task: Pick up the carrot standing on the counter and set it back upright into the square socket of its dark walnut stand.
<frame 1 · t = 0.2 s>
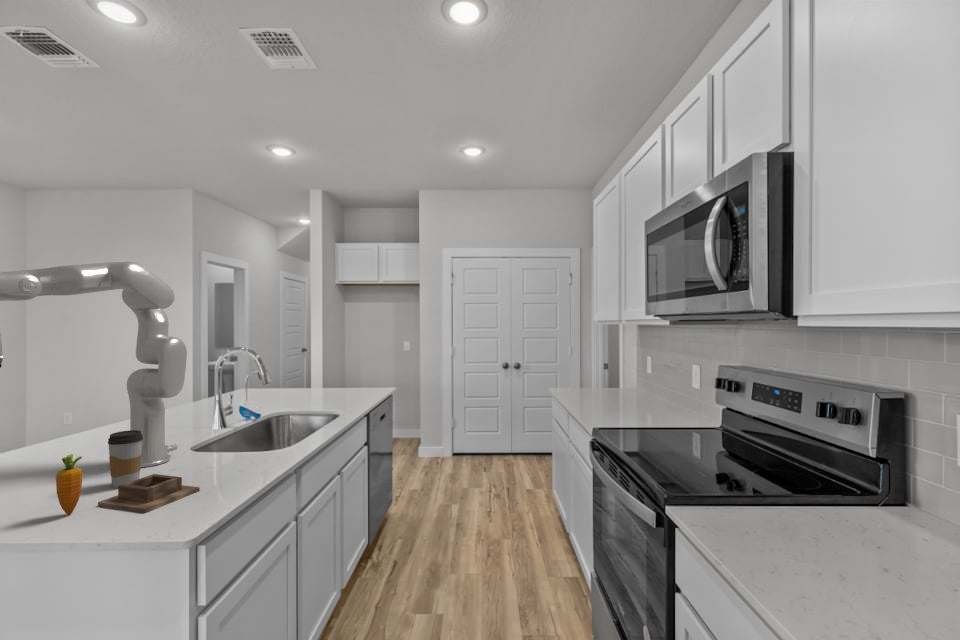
walnut stand: (150, 498, 128), on the worktop
carrot: (69, 515, 117), on the worktop
coffee cup: (125, 485, 138), on the worktop
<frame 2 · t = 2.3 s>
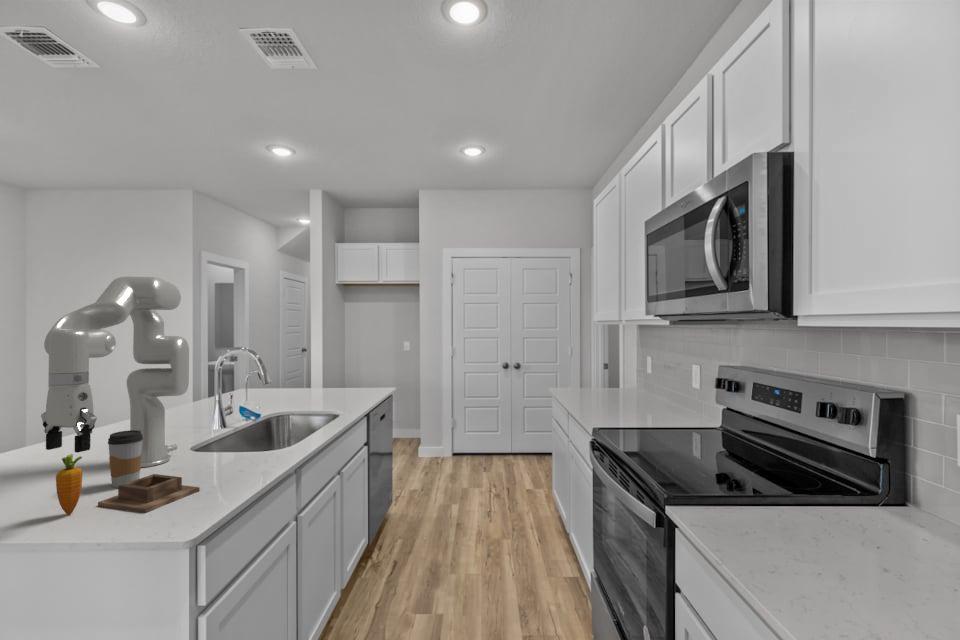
hand: (68, 449, 116), 16 cm above the worktop, tool pointing down, fingers open, 9 cm apart
nothing on the worktop moved.
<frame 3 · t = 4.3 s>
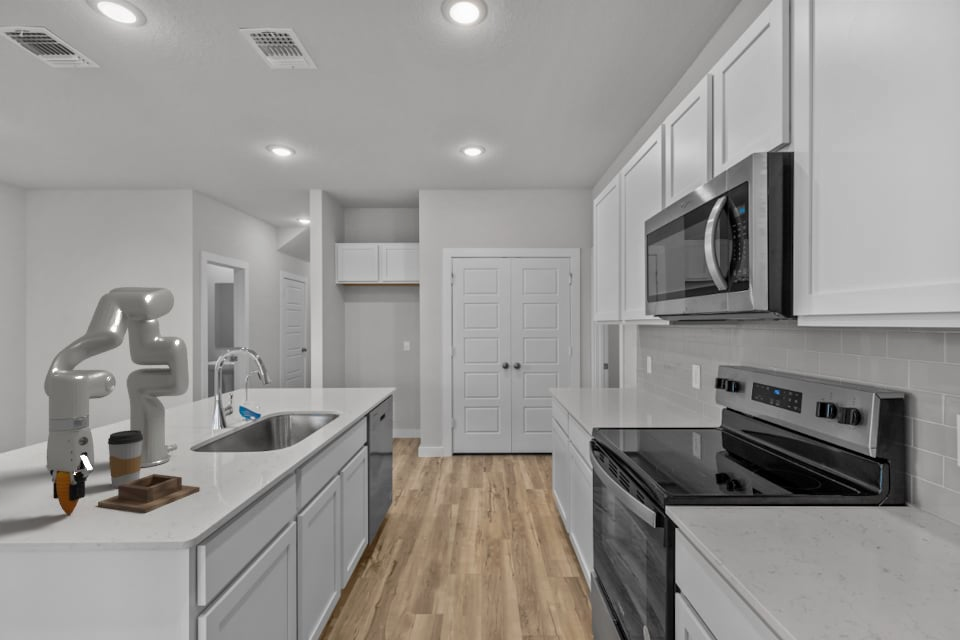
hand: (69, 497, 117), 4 cm above the worktop, tool pointing down, fingers closed on carrot, 4 cm apart
carrot: (69, 515, 117), on the worktop, touching gripper
everything else where it was.
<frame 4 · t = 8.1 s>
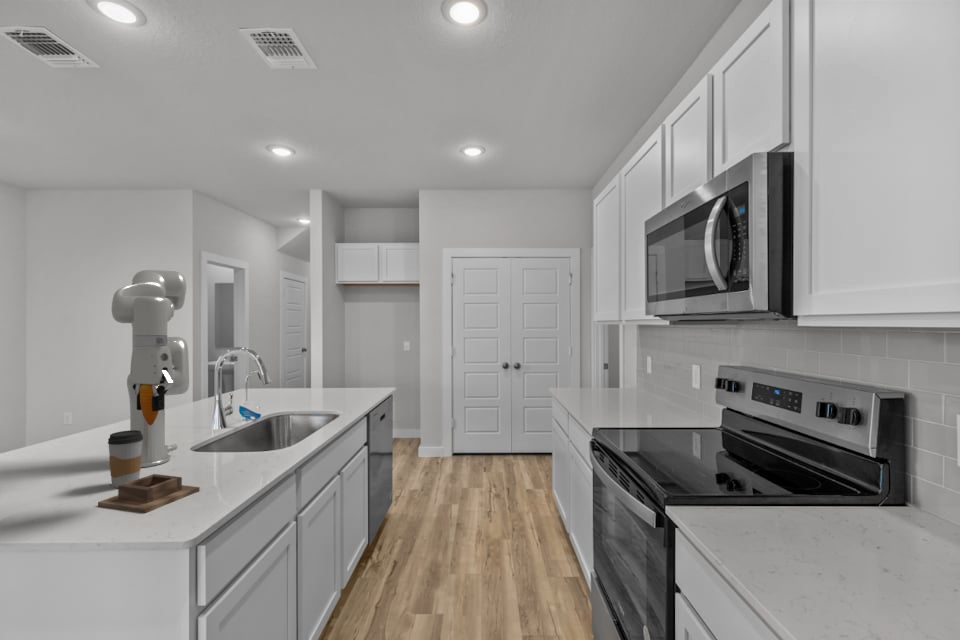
hand: (150, 409, 128), 24 cm above the worktop, tool pointing down, fingers closed on carrot, 4 cm apart
carrot: (150, 426, 128), point 19 cm above the worktop, touching gripper
everything else where it was.
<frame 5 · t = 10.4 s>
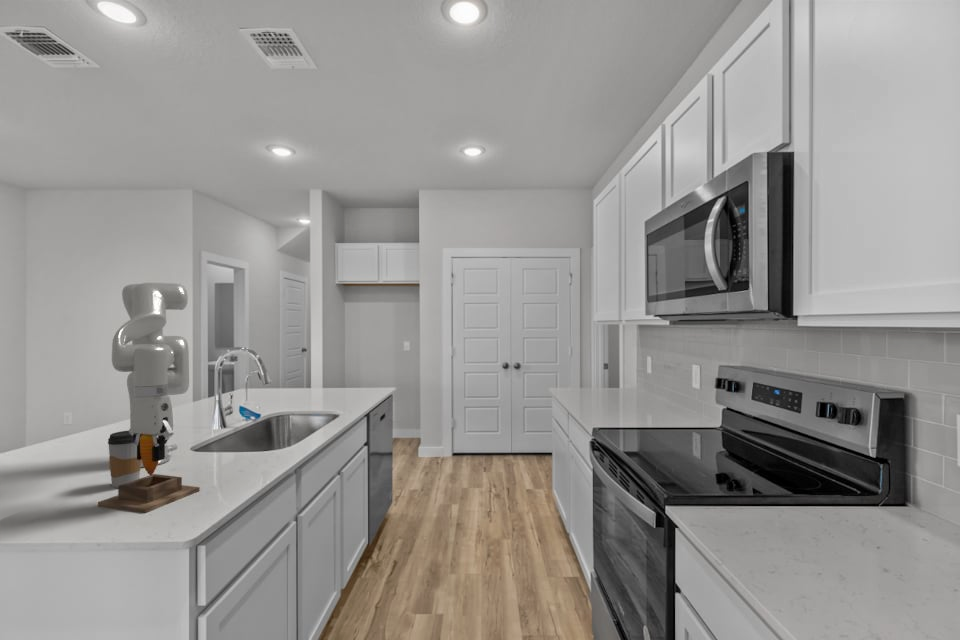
hand: (150, 458, 128), 11 cm above the worktop, tool pointing down, fingers closed on carrot, 4 cm apart
carrot: (150, 475, 128), point 6 cm above the worktop, touching gripper
everything else where it was.
when the fingers open (7 cm above the worktop, at t = 12.1 s): carrot drops 1 cm, resting on walnut stand.
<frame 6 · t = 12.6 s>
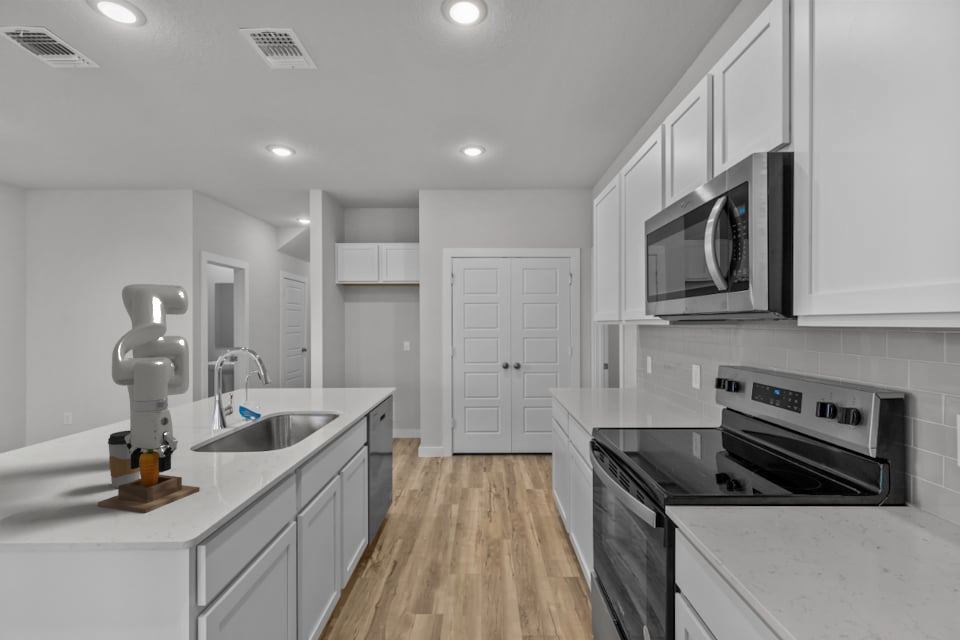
hand: (150, 469, 128), 8 cm above the worktop, tool pointing down, fingers open, 9 cm apart
carrot: (150, 494, 128), point 1 cm above the worktop, touching walnut stand
everything else where it was.
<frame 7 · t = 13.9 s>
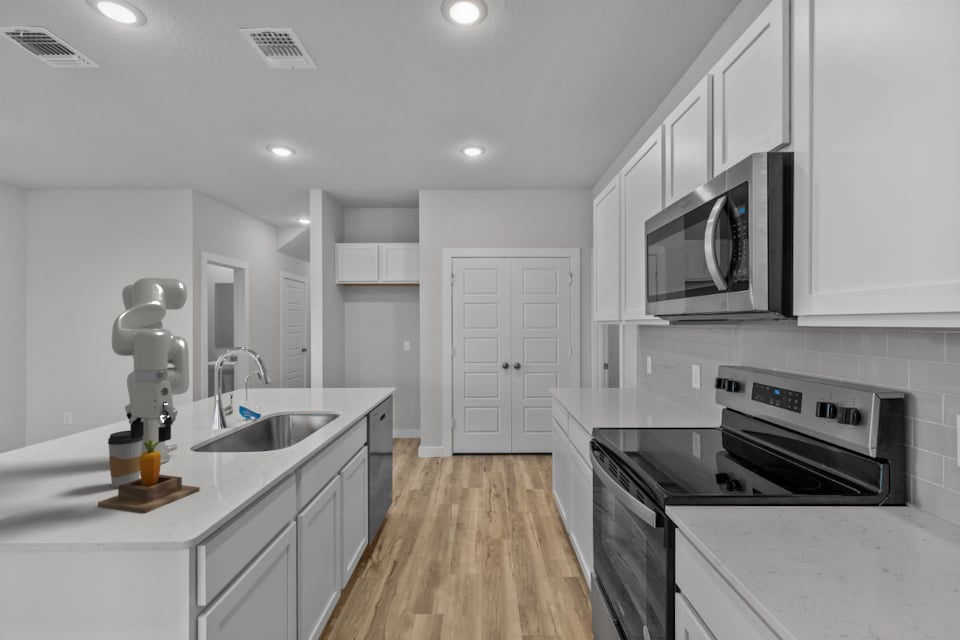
hand: (150, 439, 128), 16 cm above the worktop, tool pointing down, fingers open, 9 cm apart
nothing on the worktop moved.
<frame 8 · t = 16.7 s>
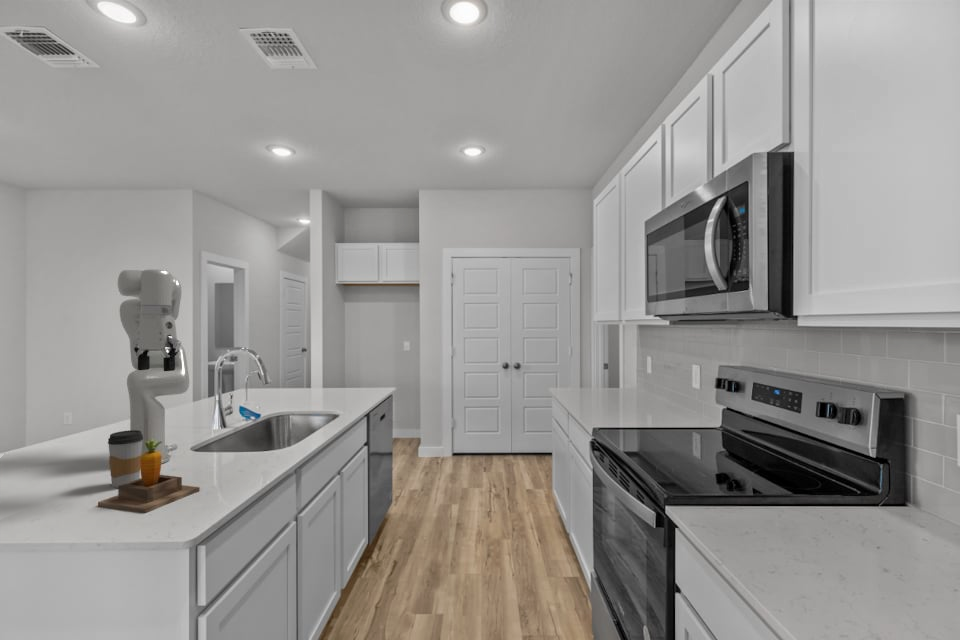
hand: (156, 370, 139), 33 cm above the worktop, tool pointing down, fingers open, 9 cm apart
nothing on the worktop moved.
at the end: carrot 0.3 cm off-centre on the walnut stand, point 0.8 cm above the walnut stand's base; carrot tilted 2°; the gripper is holding nothing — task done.
